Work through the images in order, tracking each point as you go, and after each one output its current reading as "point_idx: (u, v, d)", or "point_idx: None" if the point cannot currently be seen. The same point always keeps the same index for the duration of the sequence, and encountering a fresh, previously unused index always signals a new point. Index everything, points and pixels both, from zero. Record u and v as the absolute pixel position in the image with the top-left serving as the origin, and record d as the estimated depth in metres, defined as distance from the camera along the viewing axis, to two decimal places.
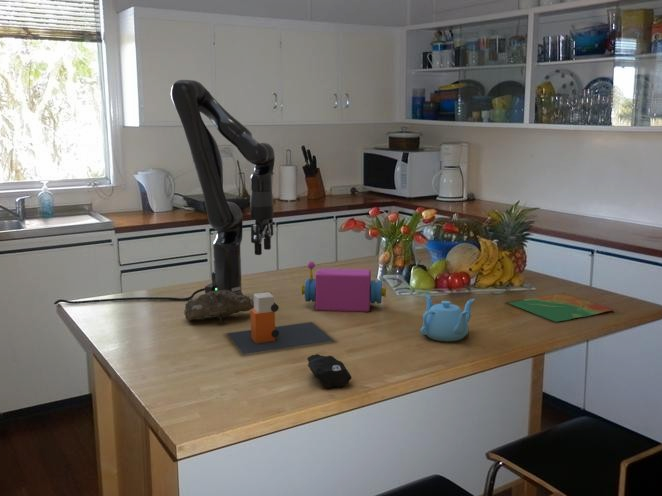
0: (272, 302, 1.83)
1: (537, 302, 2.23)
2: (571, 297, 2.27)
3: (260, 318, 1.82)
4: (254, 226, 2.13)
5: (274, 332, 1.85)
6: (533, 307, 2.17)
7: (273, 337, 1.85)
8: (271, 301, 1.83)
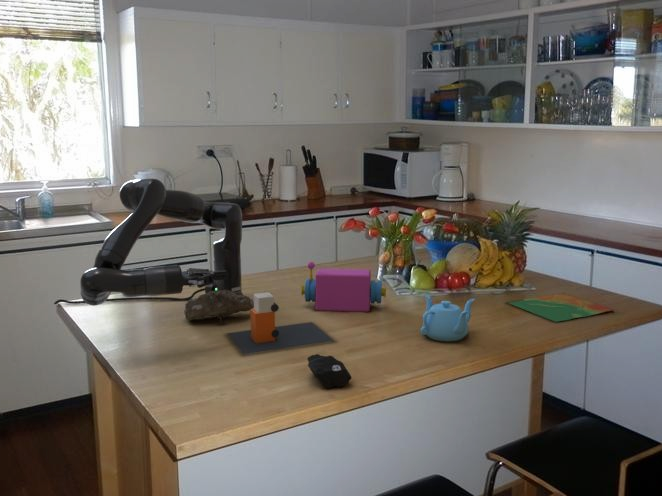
0: (272, 302, 1.83)
1: (537, 302, 2.23)
2: (571, 297, 2.27)
3: (260, 318, 1.82)
4: None
5: (274, 332, 1.85)
6: (533, 307, 2.17)
7: (273, 337, 1.85)
8: (271, 301, 1.83)
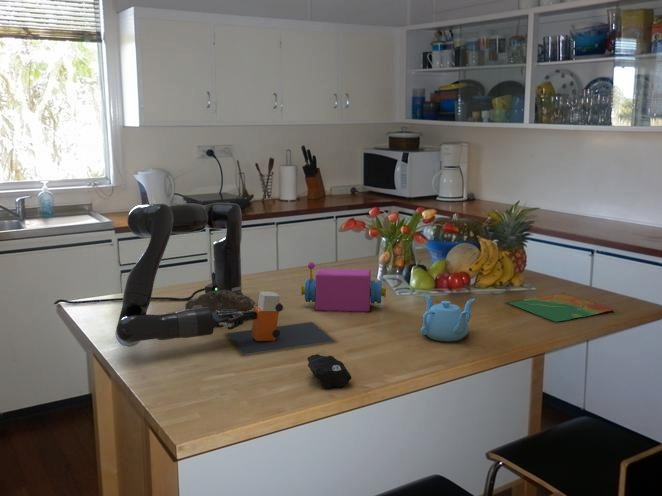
0: (277, 301, 1.84)
1: (537, 302, 2.23)
2: (571, 297, 2.27)
3: (263, 316, 1.83)
4: None
5: (275, 332, 1.85)
6: (533, 307, 2.17)
7: (274, 337, 1.85)
8: (276, 300, 1.84)
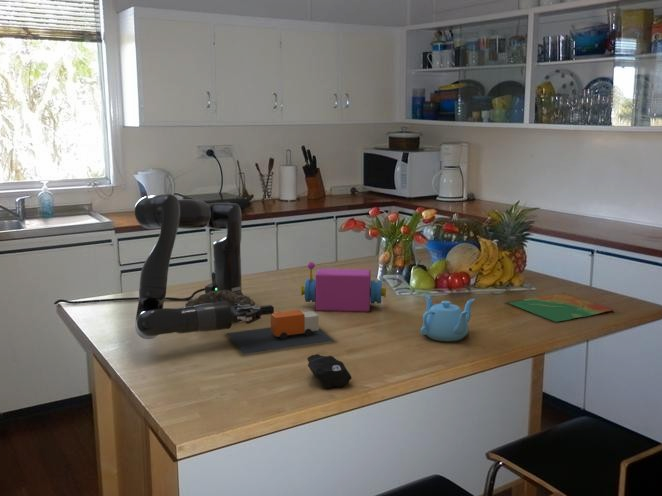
0: (313, 329, 1.89)
1: (537, 302, 2.23)
2: (571, 297, 2.27)
3: (299, 319, 1.87)
4: None
5: (285, 335, 1.86)
6: (533, 307, 2.17)
7: (279, 334, 1.85)
8: (314, 328, 1.90)
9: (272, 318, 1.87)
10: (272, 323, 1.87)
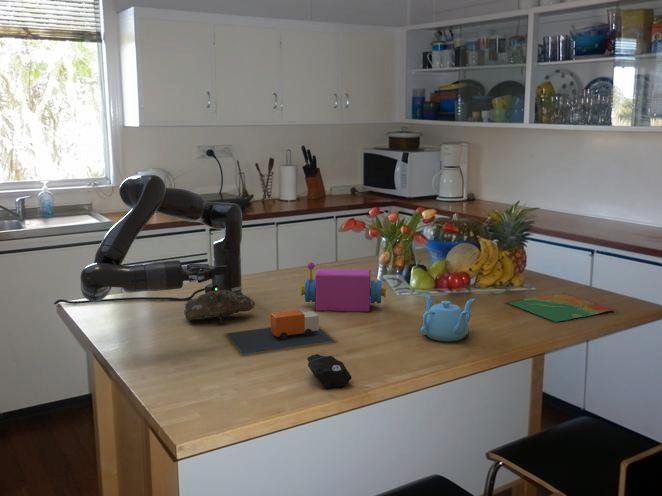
0: (313, 329, 1.89)
1: (537, 302, 2.23)
2: (571, 297, 2.27)
3: (299, 319, 1.87)
4: None
5: (285, 335, 1.86)
6: (533, 307, 2.17)
7: (279, 334, 1.85)
8: (314, 328, 1.90)
9: (272, 318, 1.87)
10: (272, 323, 1.87)
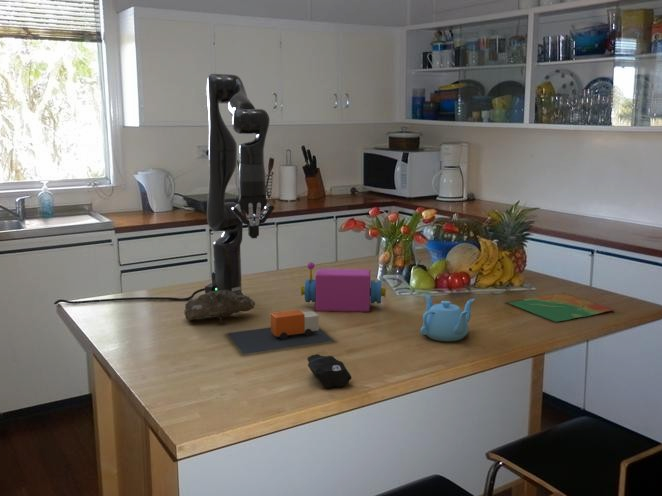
0: (313, 329, 1.89)
1: (537, 302, 2.23)
2: (571, 297, 2.27)
3: (299, 319, 1.87)
4: (232, 210, 1.91)
5: (285, 335, 1.86)
6: (533, 307, 2.17)
7: (279, 334, 1.85)
8: (314, 328, 1.90)
9: (272, 318, 1.87)
10: (272, 323, 1.87)
